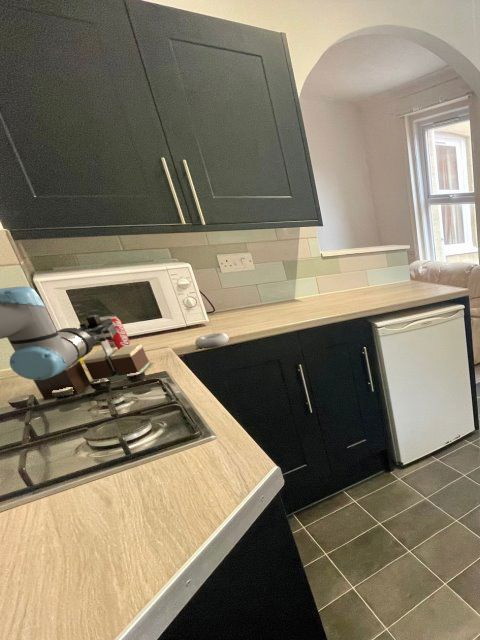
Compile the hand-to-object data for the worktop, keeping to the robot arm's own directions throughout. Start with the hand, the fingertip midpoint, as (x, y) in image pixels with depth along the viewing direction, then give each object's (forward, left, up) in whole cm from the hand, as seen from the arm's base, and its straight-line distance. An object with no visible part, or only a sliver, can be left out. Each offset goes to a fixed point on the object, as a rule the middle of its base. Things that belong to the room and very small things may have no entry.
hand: (105, 323), depth 122 cm
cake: (0, -3, -15) cm, 15 cm away
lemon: (-16, +9, -15) cm, 23 cm away
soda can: (-10, +26, -15) cm, 32 cm away
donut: (+20, +15, -15) cm, 30 cm away
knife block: (-10, -12, -15) cm, 21 cm away
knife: (0, -6, -12) cm, 14 cm away
